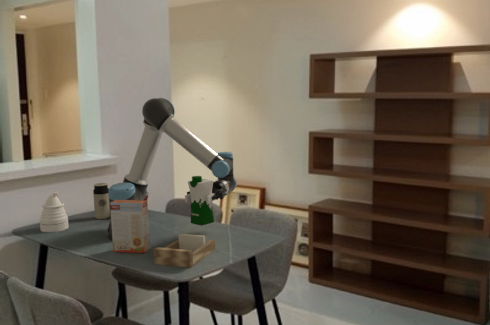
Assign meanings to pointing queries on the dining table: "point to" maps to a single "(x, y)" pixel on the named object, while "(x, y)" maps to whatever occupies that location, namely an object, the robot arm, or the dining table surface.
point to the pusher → (191, 241)
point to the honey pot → (53, 215)
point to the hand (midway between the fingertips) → (196, 199)
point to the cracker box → (130, 226)
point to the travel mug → (101, 201)
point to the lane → (181, 254)
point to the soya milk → (200, 201)
